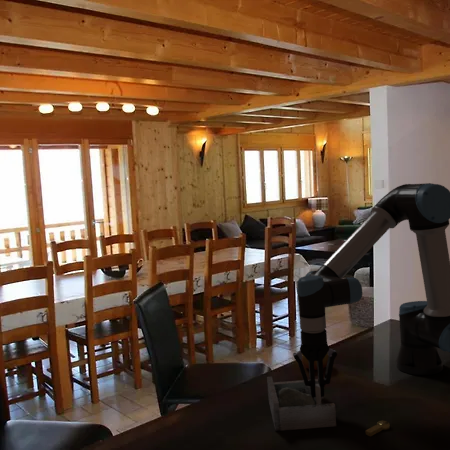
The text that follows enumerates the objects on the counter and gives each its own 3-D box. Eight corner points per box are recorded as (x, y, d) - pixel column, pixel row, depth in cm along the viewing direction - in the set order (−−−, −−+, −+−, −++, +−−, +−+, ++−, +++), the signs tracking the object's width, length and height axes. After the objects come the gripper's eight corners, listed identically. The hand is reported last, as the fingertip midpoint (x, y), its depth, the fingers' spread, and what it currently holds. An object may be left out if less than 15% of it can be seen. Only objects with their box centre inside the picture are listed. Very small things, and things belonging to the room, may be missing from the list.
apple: (329, 362, 189) (328, 341, 189) (330, 373, 180) (328, 350, 179) (302, 363, 191) (301, 342, 190) (301, 373, 182) (300, 351, 181)
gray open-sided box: (322, 397, 161) (321, 372, 160) (336, 426, 142) (334, 398, 141) (268, 401, 161) (267, 376, 160) (275, 431, 142) (273, 403, 141)
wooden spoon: (382, 423, 142) (382, 419, 142) (392, 427, 139) (391, 423, 139) (363, 433, 137) (363, 429, 137) (373, 438, 135) (372, 433, 135)
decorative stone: (293, 431, 141) (311, 399, 142) (264, 408, 148) (281, 377, 149) (310, 434, 151) (327, 404, 152) (282, 412, 158) (298, 384, 159)
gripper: (332, 323, 153) (337, 399, 155) (289, 327, 153) (294, 403, 155) (338, 331, 146) (343, 410, 148) (293, 335, 145) (298, 414, 148)
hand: (318, 406), depth 151 cm, fingers closed
